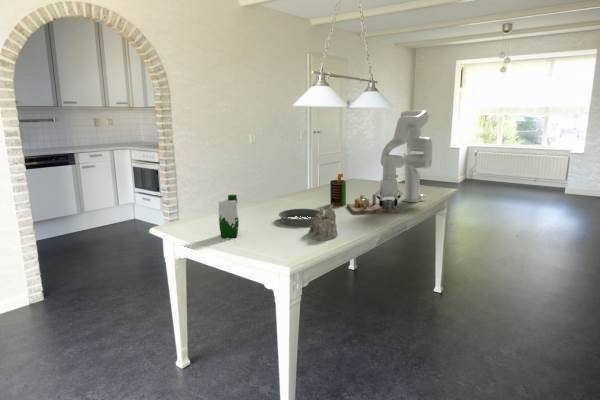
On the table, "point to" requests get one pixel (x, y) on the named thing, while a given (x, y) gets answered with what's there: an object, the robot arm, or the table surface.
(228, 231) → the milk carton
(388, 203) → the steel gear
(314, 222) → the grey rough lump
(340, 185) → the motor
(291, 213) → the cake pan
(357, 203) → the brass gear
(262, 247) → the table surface
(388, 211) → the board
